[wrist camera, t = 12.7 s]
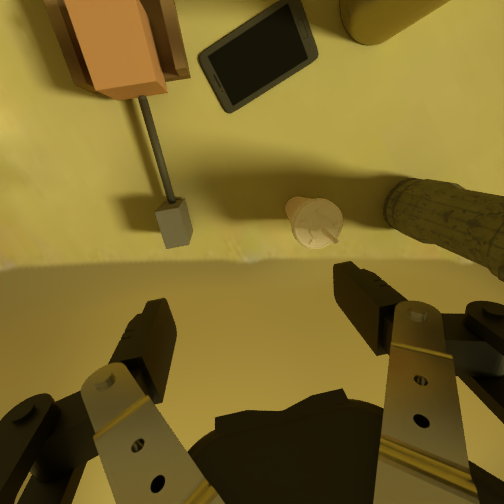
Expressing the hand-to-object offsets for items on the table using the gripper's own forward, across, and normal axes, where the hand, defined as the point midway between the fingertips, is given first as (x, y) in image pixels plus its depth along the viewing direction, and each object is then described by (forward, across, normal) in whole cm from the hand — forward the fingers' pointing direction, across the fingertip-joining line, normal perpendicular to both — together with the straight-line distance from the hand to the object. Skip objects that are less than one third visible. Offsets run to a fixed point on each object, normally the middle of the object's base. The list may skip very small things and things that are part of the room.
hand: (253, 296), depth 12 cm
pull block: (+28, +8, -8) cm, 30 cm away
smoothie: (+28, -10, +4) cm, 30 cm away
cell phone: (+29, -7, -16) cm, 34 cm away
